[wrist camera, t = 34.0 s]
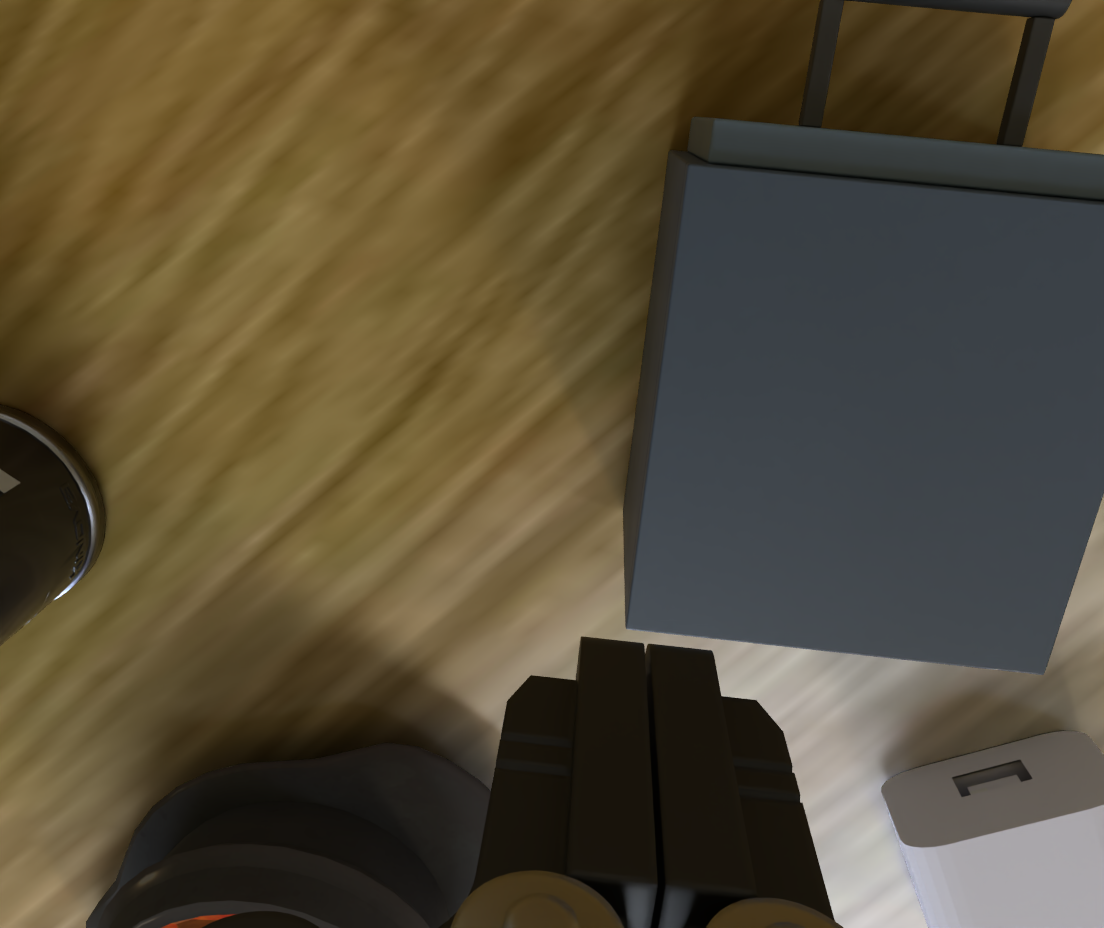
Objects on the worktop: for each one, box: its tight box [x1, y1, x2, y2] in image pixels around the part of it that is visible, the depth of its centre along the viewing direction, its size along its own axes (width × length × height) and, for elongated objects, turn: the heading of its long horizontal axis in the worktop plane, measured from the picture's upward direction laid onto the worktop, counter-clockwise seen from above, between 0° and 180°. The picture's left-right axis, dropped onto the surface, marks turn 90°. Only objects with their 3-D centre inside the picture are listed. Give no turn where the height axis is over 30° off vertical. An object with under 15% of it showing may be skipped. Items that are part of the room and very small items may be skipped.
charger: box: [881, 731, 1104, 928], centre depth 42 cm, size 5×9×15 cm
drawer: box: [687, 0, 1104, 201], centre depth 30 cm, size 18×12×8 cm
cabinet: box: [623, 150, 1104, 675], centre depth 32 cm, size 15×14×10 cm
